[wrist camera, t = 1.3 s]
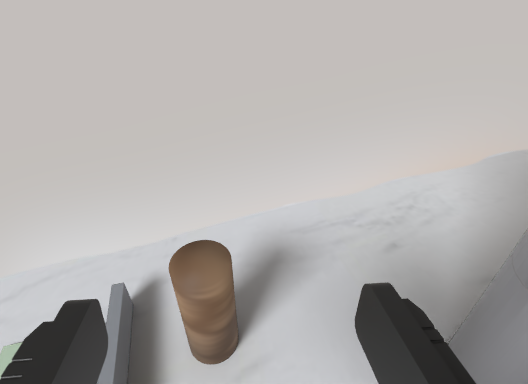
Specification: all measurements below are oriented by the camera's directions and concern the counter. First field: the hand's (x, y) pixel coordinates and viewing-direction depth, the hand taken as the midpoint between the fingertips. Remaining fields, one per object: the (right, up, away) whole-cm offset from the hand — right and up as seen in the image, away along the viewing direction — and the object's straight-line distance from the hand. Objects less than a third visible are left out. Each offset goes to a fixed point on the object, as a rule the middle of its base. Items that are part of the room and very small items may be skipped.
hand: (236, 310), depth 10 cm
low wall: (-13, -13, +21) cm, 28 cm away
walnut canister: (-4, -12, +23) cm, 26 cm away
